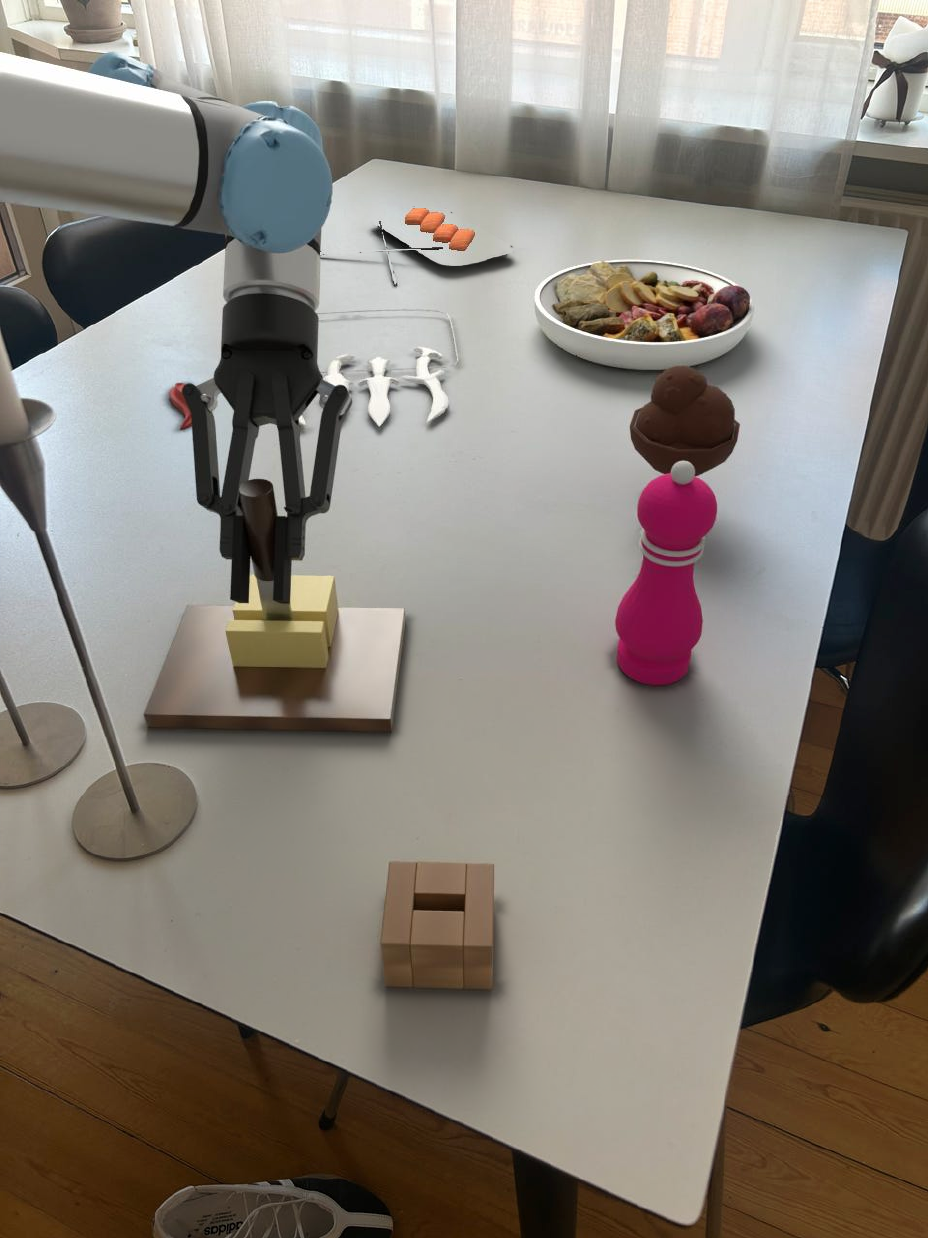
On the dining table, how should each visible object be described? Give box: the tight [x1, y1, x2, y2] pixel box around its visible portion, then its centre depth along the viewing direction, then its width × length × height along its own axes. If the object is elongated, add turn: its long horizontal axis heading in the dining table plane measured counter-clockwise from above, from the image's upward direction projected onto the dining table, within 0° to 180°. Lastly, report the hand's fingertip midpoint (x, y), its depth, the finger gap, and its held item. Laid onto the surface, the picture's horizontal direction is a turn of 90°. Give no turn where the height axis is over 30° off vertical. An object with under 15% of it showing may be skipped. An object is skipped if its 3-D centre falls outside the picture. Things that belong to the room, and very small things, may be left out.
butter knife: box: [238, 478, 293, 621], centre depth 78 cm, size 3×3×16 cm
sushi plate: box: [379, 208, 475, 285], centre depth 161 cm, size 29×30×4 cm
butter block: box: [232, 574, 339, 647], centre depth 84 cm, size 8×5×4 cm, turn 88°
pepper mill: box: [614, 461, 718, 686], centre depth 78 cm, size 7×7×20 cm
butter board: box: [143, 604, 407, 733], centre depth 83 cm, size 20×14×2 cm
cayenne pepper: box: [168, 382, 192, 430], centre depth 120 cm, size 12×5×2 cm, turn 6°
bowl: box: [533, 259, 755, 371], centre depth 134 cm, size 30×30×8 cm
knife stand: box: [379, 860, 495, 991], centre depth 62 cm, size 7×6×5 cm
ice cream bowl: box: [629, 366, 741, 477], centre depth 98 cm, size 11×11×15 cm
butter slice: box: [225, 620, 329, 668], centre depth 81 cm, size 8×2×4 cm, turn 88°
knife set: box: [299, 308, 459, 427], centre depth 128 cm, size 26×35×1 cm
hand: (260, 601), depth 75 cm, fingers closed on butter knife, 3 cm apart
